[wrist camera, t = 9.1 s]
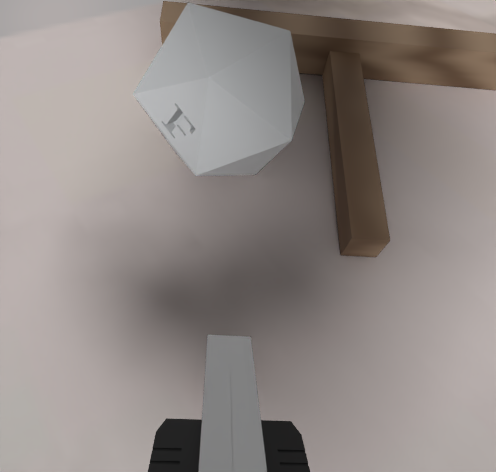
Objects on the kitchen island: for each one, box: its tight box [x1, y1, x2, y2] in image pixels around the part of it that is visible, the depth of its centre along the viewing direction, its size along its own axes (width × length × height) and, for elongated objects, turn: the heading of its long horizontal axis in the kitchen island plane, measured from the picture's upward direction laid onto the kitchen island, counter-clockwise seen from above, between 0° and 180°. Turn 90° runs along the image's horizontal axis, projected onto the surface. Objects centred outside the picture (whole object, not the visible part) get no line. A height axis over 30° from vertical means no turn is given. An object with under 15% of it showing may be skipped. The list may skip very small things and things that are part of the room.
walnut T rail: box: [160, 1, 496, 257], centre depth 26 cm, size 24×16×3 cm, turn 89°
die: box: [133, 2, 305, 176], centre depth 23 cm, size 8×9×10 cm
